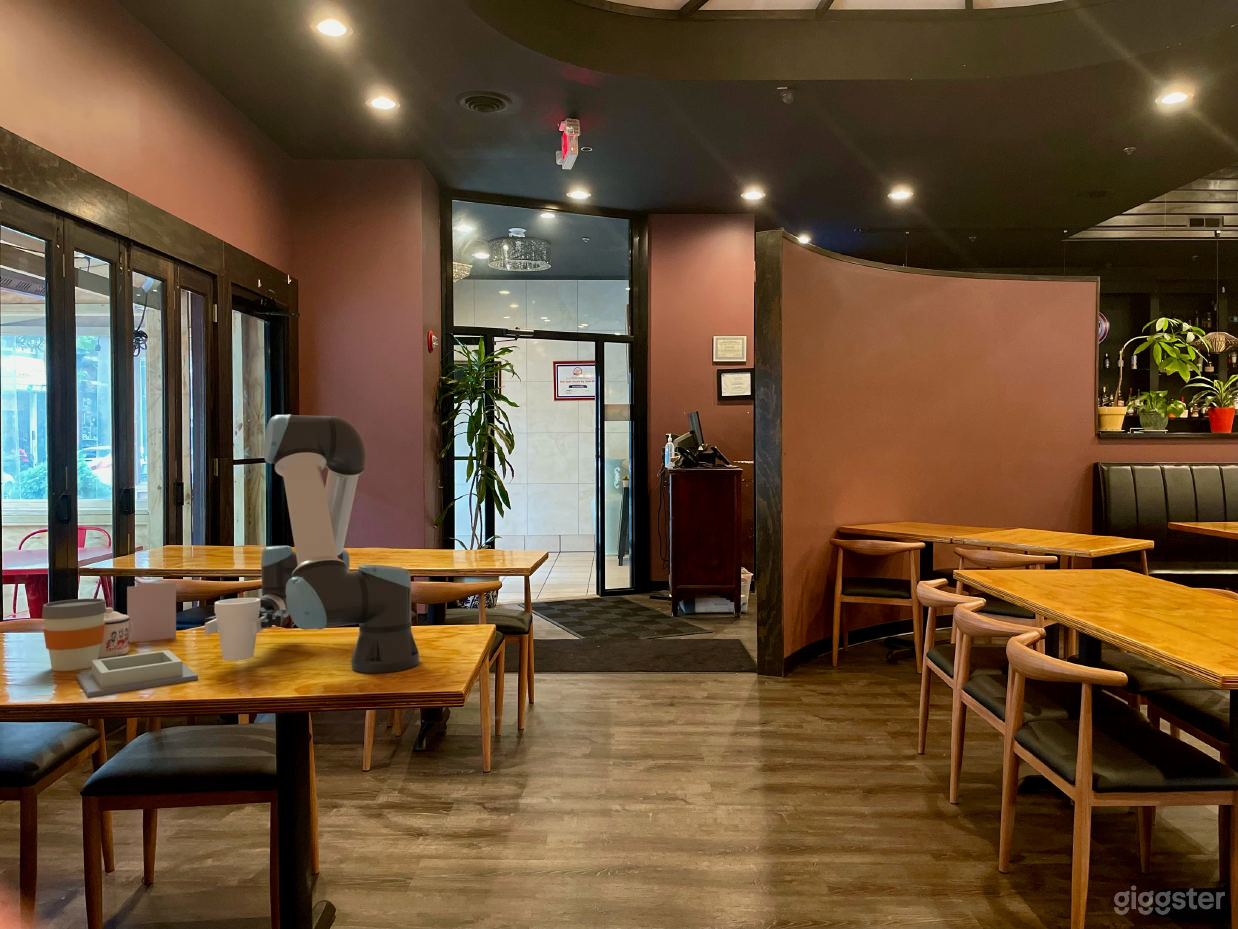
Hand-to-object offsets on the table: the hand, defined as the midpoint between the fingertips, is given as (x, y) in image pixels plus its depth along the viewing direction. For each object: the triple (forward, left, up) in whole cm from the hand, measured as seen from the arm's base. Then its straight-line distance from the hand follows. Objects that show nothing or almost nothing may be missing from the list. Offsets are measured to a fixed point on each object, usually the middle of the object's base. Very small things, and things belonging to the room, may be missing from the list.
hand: (230, 628), depth 176 cm
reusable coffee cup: (+34, +26, -11) cm, 44 cm away
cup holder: (+10, +17, -10) cm, 22 cm away
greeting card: (+56, +7, -11) cm, 58 cm away
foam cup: (+4, -2, -8) cm, 9 cm away
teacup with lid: (+44, +17, -11) cm, 49 cm away
